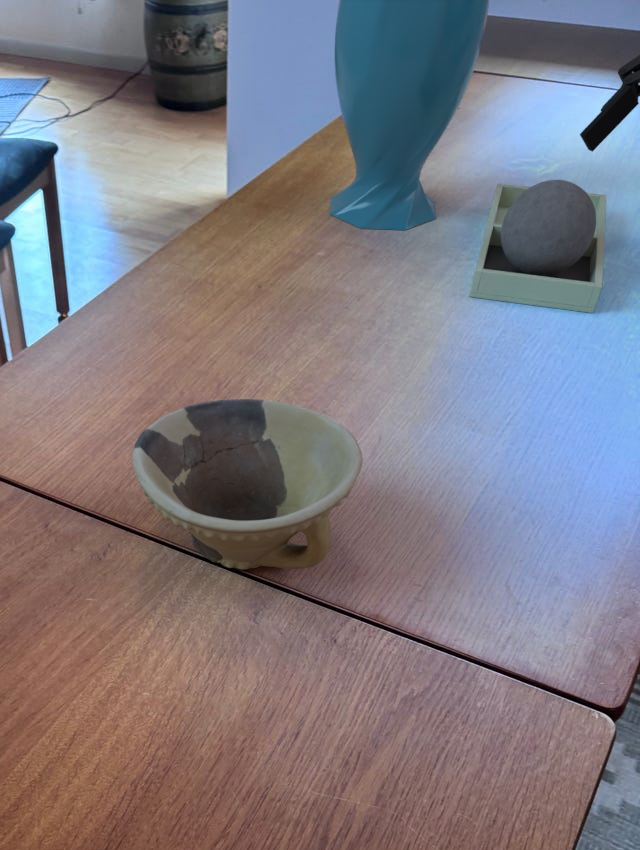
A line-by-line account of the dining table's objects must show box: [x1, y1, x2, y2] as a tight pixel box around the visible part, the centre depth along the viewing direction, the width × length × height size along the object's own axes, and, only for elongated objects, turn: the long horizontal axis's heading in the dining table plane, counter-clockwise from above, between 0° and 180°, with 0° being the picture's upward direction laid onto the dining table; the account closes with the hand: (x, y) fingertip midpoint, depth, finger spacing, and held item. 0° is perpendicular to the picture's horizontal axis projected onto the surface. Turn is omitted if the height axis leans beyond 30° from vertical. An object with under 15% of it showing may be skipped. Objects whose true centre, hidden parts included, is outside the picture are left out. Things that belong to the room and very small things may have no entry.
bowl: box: [131, 398, 364, 570], centre depth 73 cm, size 18×18×10 cm
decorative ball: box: [501, 179, 596, 276], centre depth 103 cm, size 10×10×10 cm
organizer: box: [468, 183, 607, 314], centre depth 111 cm, size 14×26×3 cm, turn 161°
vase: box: [328, 0, 490, 231], centre depth 112 cm, size 17×17×30 cm
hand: (623, 163), depth 102 cm, fingers open, 13 cm apart
